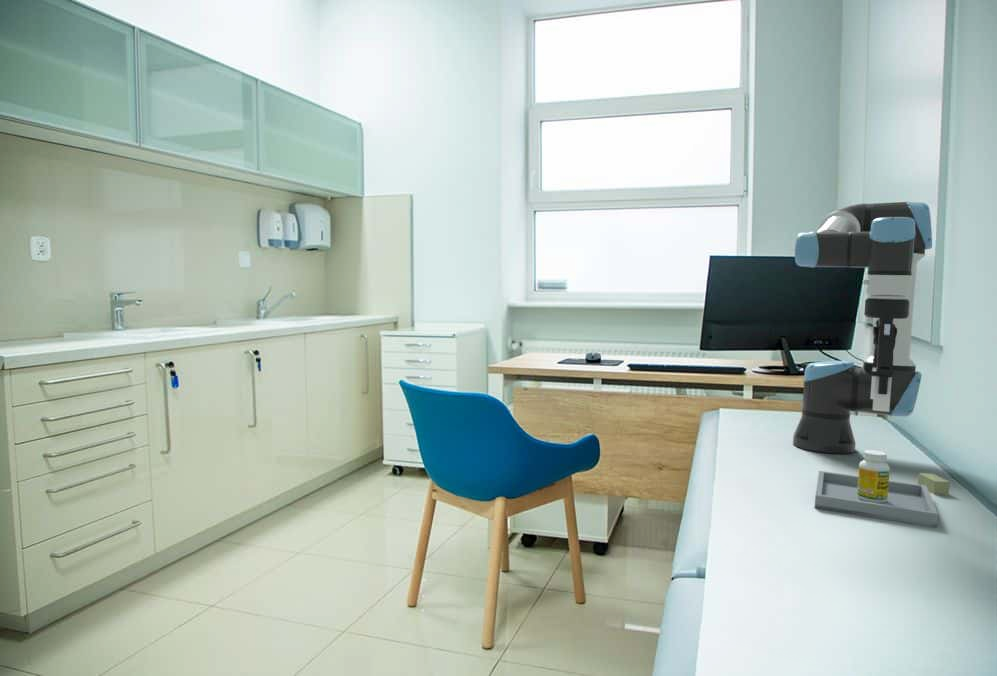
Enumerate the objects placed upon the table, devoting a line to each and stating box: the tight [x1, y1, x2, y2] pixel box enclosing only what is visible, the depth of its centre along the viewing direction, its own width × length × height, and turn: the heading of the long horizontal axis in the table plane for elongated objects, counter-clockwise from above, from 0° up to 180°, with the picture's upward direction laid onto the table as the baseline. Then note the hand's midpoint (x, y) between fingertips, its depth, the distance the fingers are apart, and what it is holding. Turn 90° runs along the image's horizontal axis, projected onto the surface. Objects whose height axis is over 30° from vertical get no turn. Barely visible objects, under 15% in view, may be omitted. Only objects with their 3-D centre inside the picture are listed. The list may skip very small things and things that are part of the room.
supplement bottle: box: [857, 449, 891, 503], centre depth 134 cm, size 5×5×10 cm
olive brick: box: [917, 472, 951, 495], centre depth 144 cm, size 6×3×3 cm, turn 177°
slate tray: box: [814, 470, 939, 528], centre depth 135 cm, size 20×20×2 cm
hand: (879, 405), depth 133 cm, fingers open, 13 cm apart
